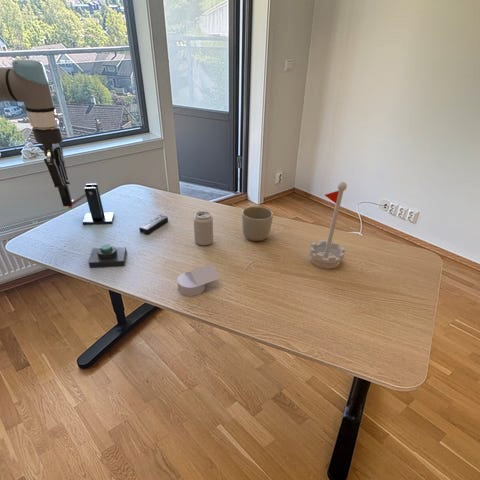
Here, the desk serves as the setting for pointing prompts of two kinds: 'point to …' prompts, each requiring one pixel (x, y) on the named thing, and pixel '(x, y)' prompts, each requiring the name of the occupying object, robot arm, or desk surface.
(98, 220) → the bracket
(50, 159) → the robot arm
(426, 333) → the desk surface
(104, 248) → the button
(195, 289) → the wedge on round base
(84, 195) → the lever
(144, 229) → the multiport hub
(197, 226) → the can
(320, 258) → the flag stand
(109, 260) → the button box
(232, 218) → the desk surface
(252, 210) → the planter
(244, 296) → the desk surface
